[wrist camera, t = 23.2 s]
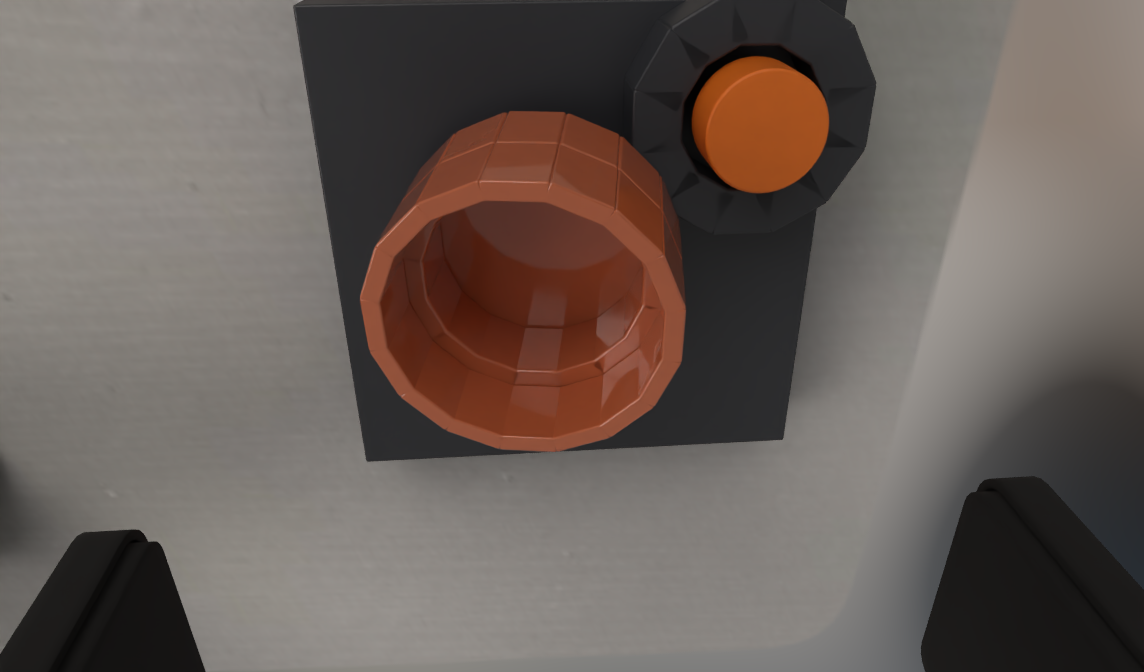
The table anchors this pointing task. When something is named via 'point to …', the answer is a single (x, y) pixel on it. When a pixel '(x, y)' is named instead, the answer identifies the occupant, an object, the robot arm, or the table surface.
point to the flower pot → (530, 285)
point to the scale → (615, 102)
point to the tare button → (760, 124)
